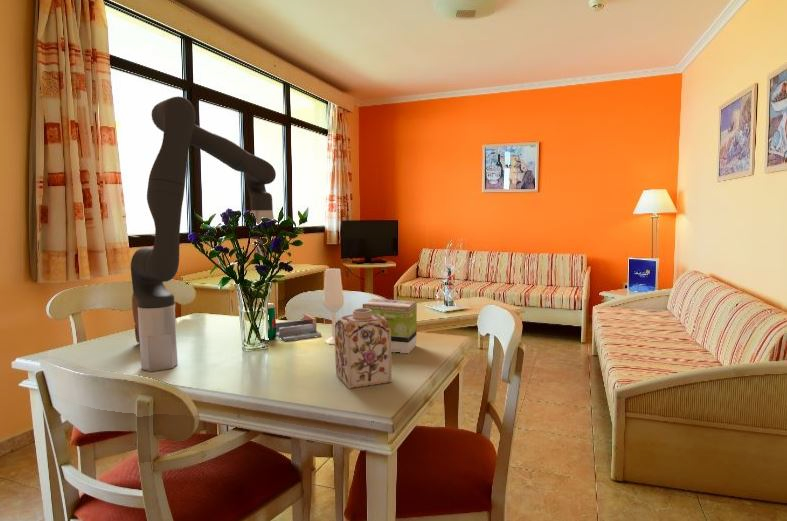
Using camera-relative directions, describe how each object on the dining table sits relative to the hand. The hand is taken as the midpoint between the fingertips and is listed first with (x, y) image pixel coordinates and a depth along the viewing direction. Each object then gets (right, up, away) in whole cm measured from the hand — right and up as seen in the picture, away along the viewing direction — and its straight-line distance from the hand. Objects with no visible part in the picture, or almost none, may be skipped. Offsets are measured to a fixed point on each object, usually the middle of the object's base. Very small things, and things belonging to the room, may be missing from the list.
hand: (264, 272), depth 166 cm
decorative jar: (+35, -26, -38) cm, 58 cm away
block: (-36, -23, -3) cm, 43 cm away
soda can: (+1, -23, +2) cm, 23 cm away
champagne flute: (+24, -23, -2) cm, 33 cm away
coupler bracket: (+8, -22, +9) cm, 25 cm away
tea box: (+42, -24, -10) cm, 49 cm away
